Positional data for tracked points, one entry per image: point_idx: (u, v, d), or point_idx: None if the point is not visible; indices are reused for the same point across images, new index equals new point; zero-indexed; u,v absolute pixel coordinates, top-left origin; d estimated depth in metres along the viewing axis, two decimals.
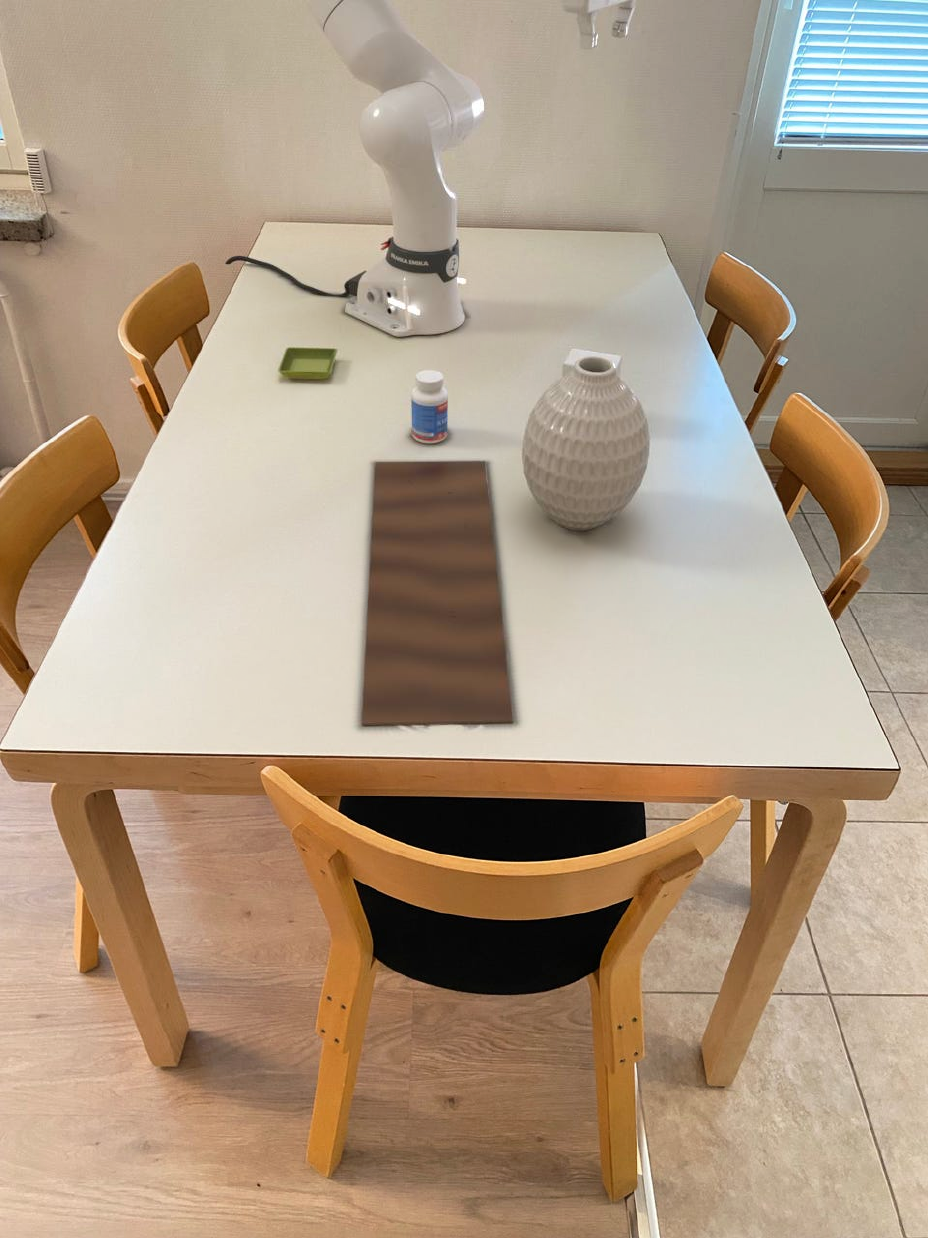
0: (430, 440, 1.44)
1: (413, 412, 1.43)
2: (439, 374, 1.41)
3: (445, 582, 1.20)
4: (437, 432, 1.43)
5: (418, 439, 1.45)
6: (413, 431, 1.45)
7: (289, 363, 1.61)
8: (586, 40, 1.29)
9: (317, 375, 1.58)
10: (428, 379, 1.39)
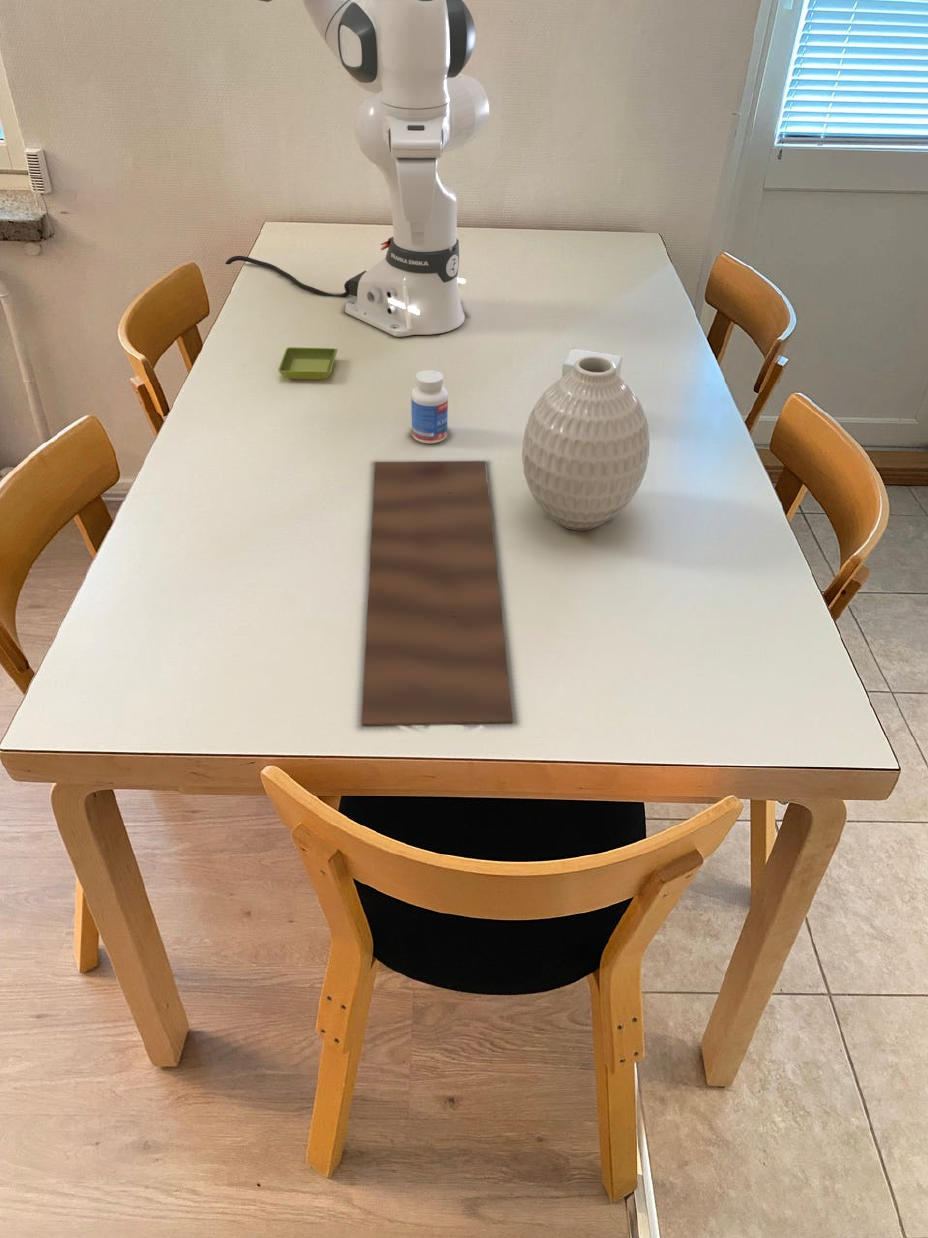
0: (430, 440, 1.44)
1: (413, 412, 1.43)
2: (439, 374, 1.41)
3: (445, 582, 1.20)
4: (437, 432, 1.43)
5: (418, 439, 1.45)
6: (413, 431, 1.45)
7: (289, 363, 1.61)
8: (418, 237, 1.31)
9: (317, 375, 1.58)
10: (428, 379, 1.39)
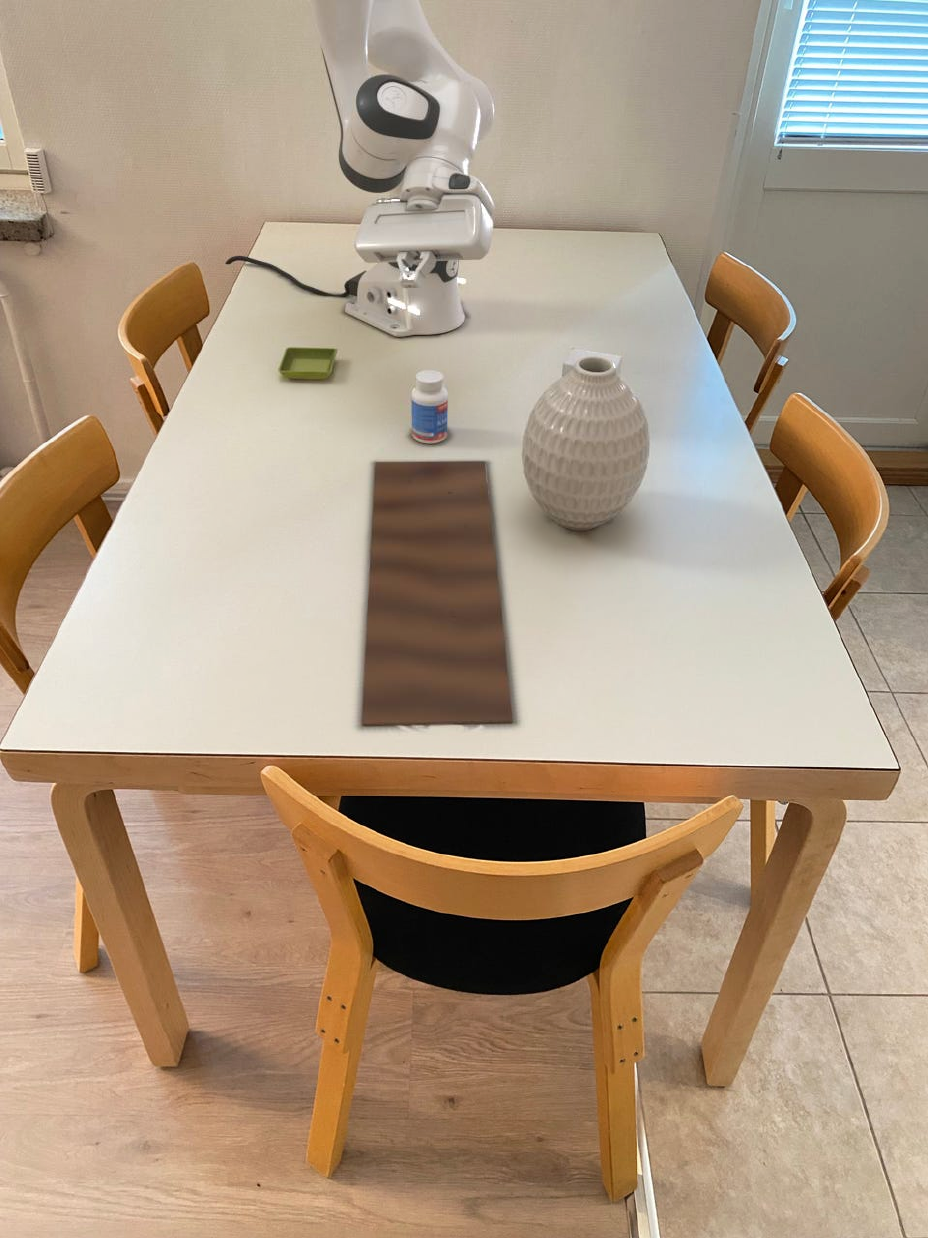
0: (430, 440, 1.44)
1: (413, 412, 1.43)
2: (439, 374, 1.41)
3: (445, 582, 1.20)
4: (437, 432, 1.43)
5: (418, 439, 1.45)
6: (413, 431, 1.45)
7: (289, 363, 1.61)
8: (421, 279, 1.33)
9: (317, 375, 1.58)
10: (428, 379, 1.39)
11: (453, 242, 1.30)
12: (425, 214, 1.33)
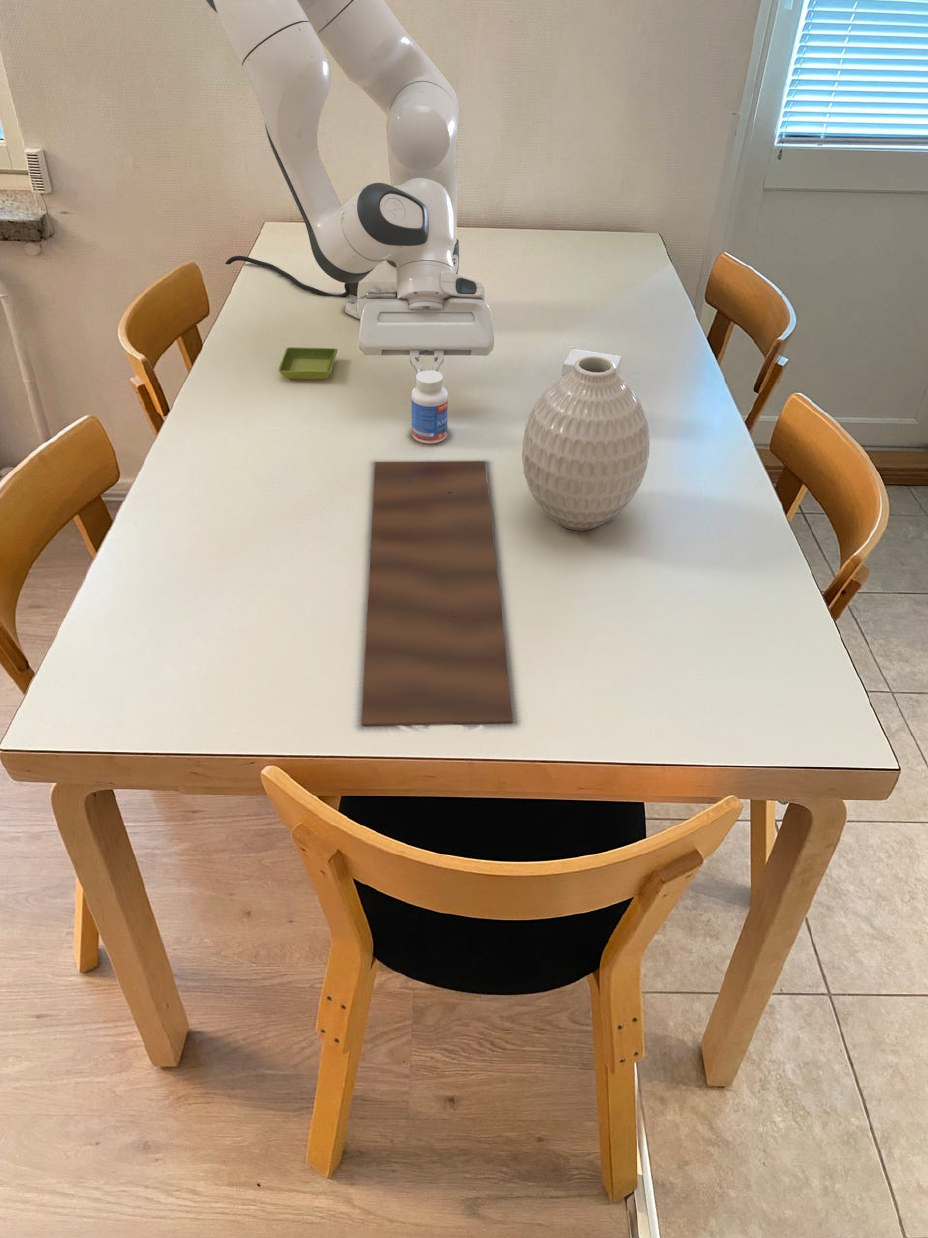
0: (430, 440, 1.44)
1: (413, 412, 1.42)
2: (439, 374, 1.41)
3: (445, 582, 1.20)
4: (437, 432, 1.43)
5: (418, 439, 1.45)
6: (413, 431, 1.45)
7: (289, 363, 1.61)
8: None
9: (317, 375, 1.58)
10: (428, 379, 1.39)
11: (469, 344, 1.43)
12: (430, 313, 1.43)
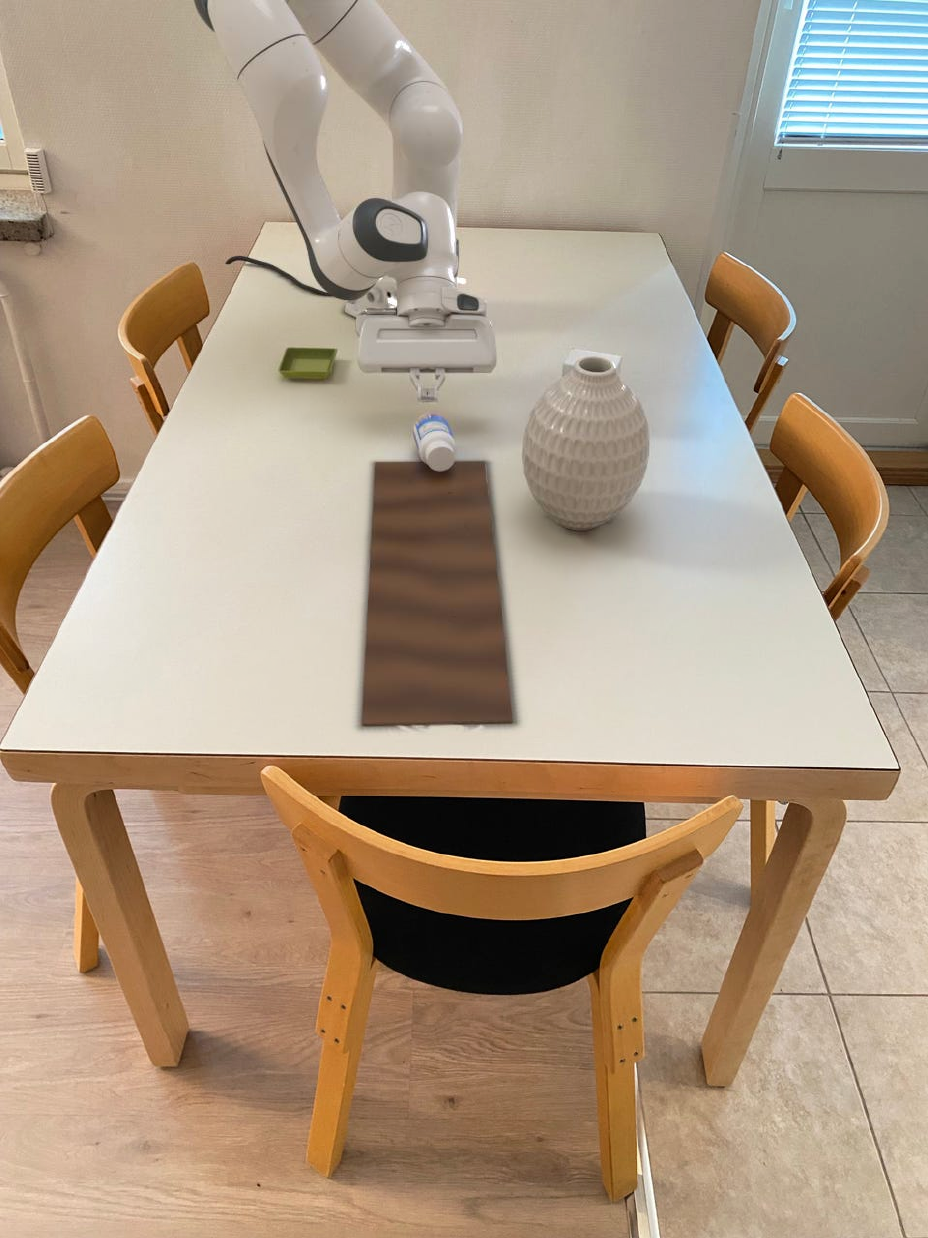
0: None
1: None
2: (451, 455, 1.35)
3: (445, 582, 1.20)
4: None
5: None
6: None
7: (289, 363, 1.61)
8: None
9: (317, 375, 1.58)
10: (439, 465, 1.36)
11: (471, 362, 1.39)
12: (431, 330, 1.39)
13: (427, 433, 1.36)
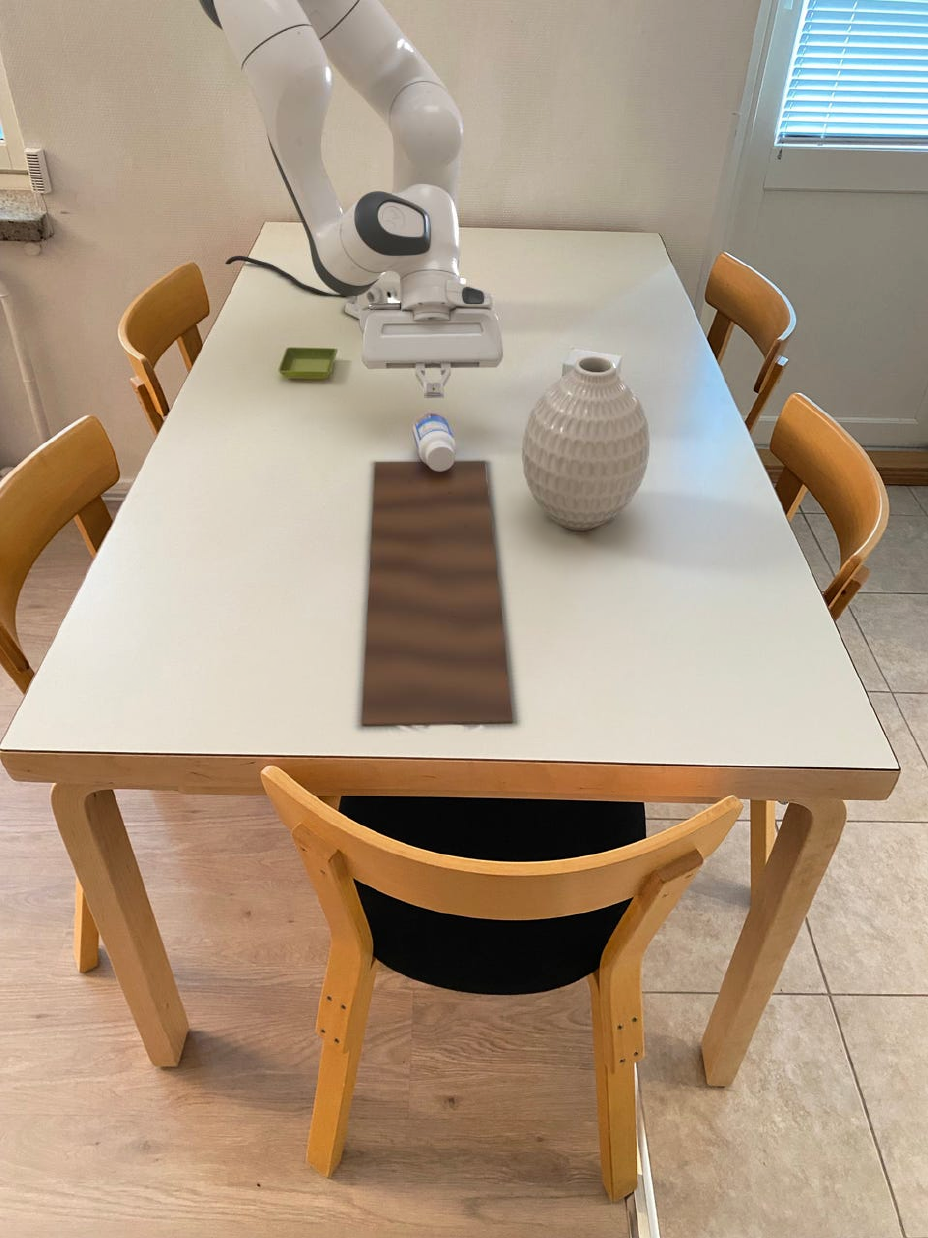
0: None
1: None
2: (451, 455, 1.35)
3: (445, 582, 1.20)
4: None
5: None
6: None
7: (289, 363, 1.61)
8: None
9: (317, 375, 1.58)
10: (439, 465, 1.36)
11: (477, 356, 1.37)
12: (436, 325, 1.37)
13: (427, 433, 1.36)
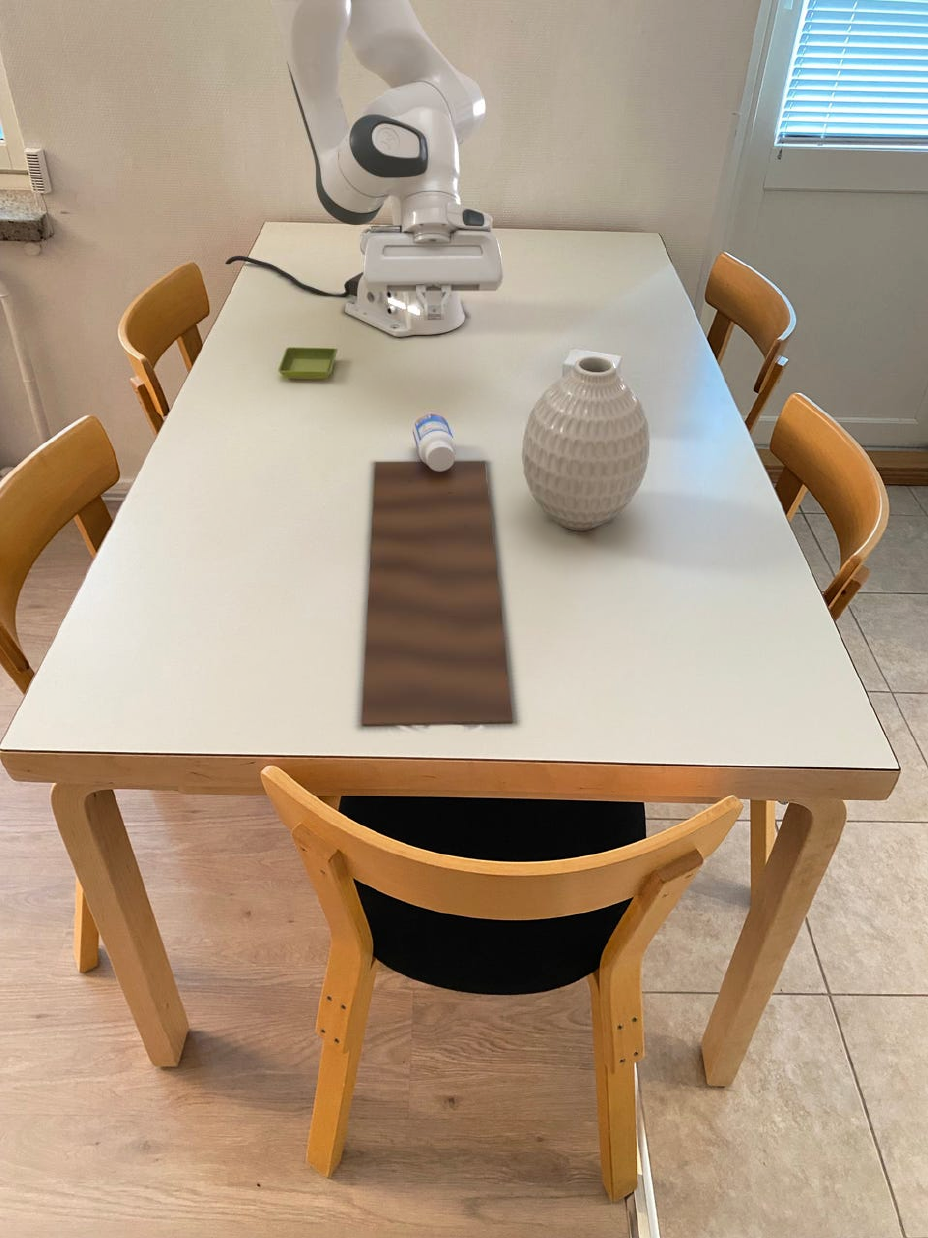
0: None
1: None
2: (451, 455, 1.35)
3: (445, 582, 1.20)
4: None
5: None
6: None
7: (289, 363, 1.61)
8: None
9: (317, 375, 1.58)
10: (439, 465, 1.36)
11: (478, 278, 1.39)
12: (437, 247, 1.39)
13: (427, 433, 1.36)
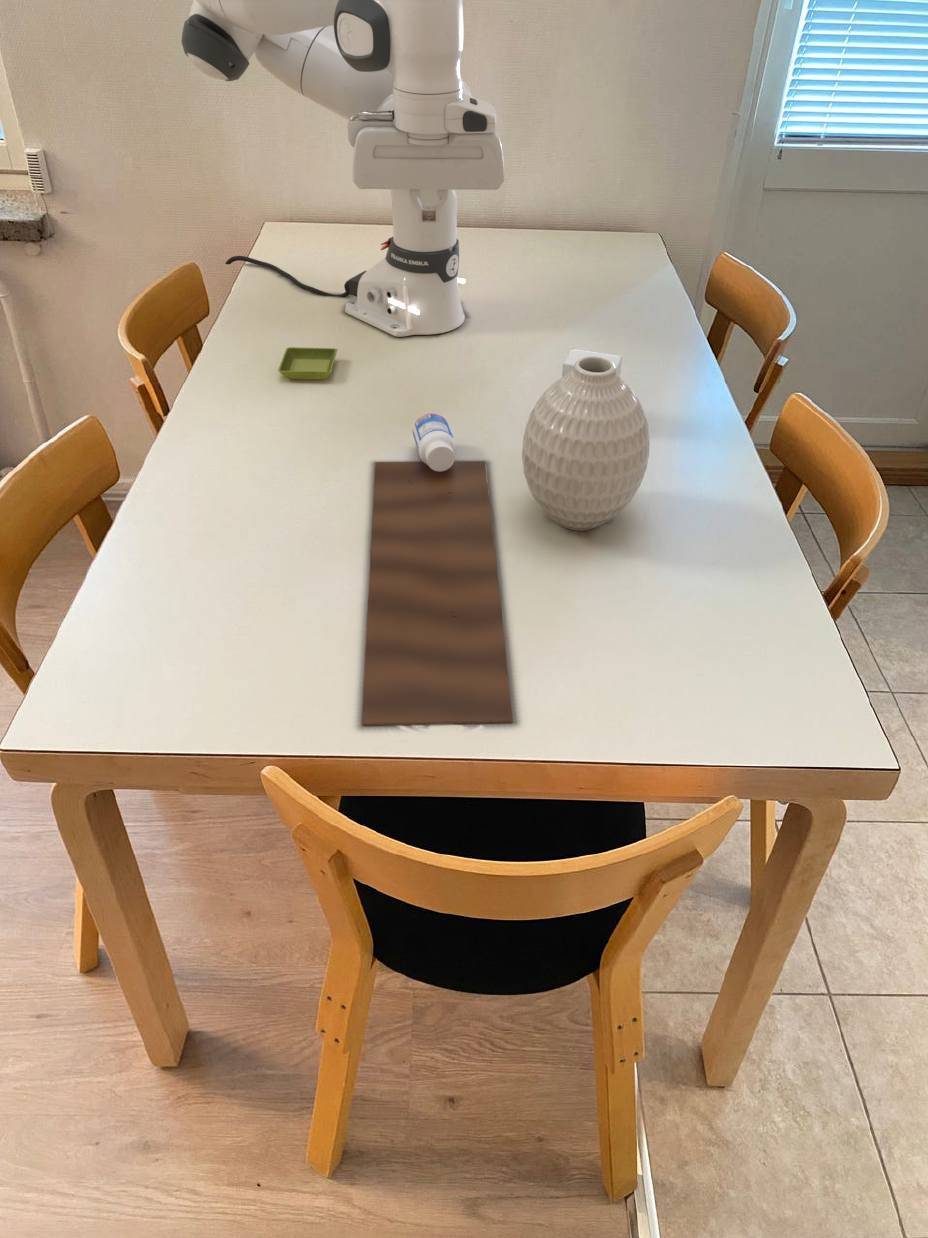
0: None
1: None
2: (451, 455, 1.35)
3: (445, 582, 1.20)
4: None
5: None
6: None
7: (289, 363, 1.61)
8: None
9: (317, 375, 1.58)
10: (439, 465, 1.36)
11: (476, 186, 1.29)
12: (433, 147, 1.25)
13: (427, 433, 1.36)
